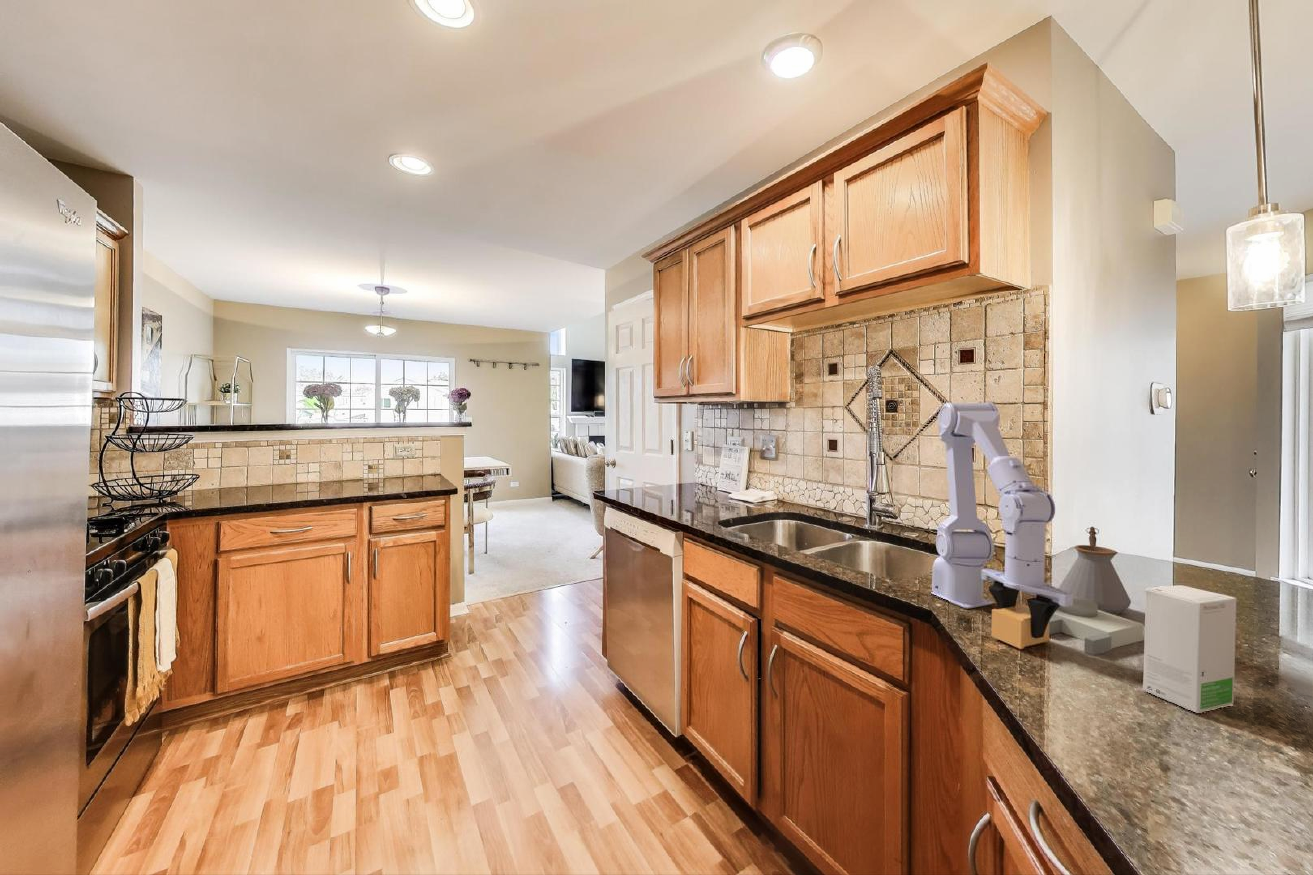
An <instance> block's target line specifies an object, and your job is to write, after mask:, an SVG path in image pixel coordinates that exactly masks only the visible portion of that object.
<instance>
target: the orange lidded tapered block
mask: <svg viewBox="0 0 1313 875" xmlns="http://www.w3.org/2000/svg"><path fill="white" fill-rule="evenodd" d="M1049 623H1050V621H1049ZM1049 623H1048V625H1047V627H1046V630H1045V633H1044V637H1041V638H1034V637H1032V635H1031V614H1030V609H1029V606H1028V605H1026V604H1018V605H1016V606H1013V607H1008V608H1003V609H998V608H993V609H991V631H990V632H991V634H990V635H991V637H993V638H995V639H997V640H1000V641H1002V642H1003V643H1006V644H1008V645H1011V646H1013V647H1015V648H1016V649H1020V650H1022V649H1025V648H1026V647H1029V646H1033V645H1037V644H1041V643H1042V644H1043V643H1046V642H1049V641H1050V635H1049Z"/></svg>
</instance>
